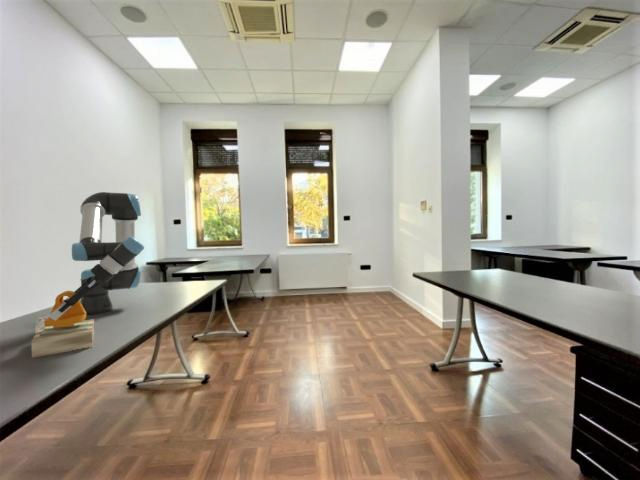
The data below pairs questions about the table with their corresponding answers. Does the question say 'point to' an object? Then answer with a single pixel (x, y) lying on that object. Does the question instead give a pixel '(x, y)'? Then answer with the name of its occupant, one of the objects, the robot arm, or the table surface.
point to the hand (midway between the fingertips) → (53, 315)
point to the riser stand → (63, 338)
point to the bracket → (67, 312)
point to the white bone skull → (40, 322)
